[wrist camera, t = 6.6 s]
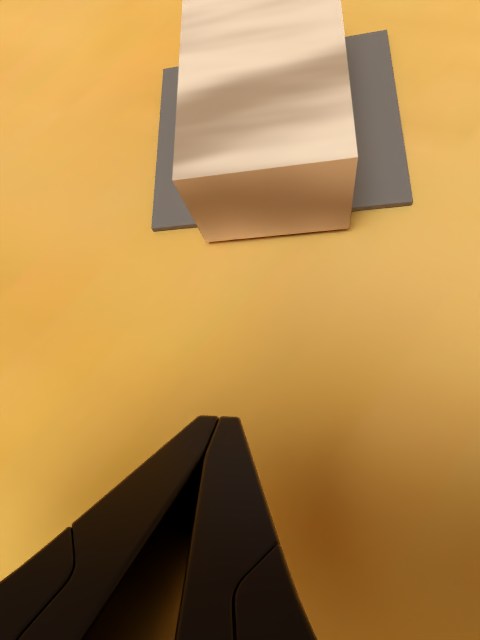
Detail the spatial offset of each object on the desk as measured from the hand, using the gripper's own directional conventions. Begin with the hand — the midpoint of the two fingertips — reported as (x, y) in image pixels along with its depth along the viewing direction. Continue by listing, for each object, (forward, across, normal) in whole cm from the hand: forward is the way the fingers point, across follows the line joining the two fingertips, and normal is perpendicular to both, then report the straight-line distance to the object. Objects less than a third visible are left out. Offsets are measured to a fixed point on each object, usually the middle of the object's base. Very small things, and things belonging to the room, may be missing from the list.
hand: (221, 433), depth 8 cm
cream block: (+11, 0, -3) cm, 12 cm away
